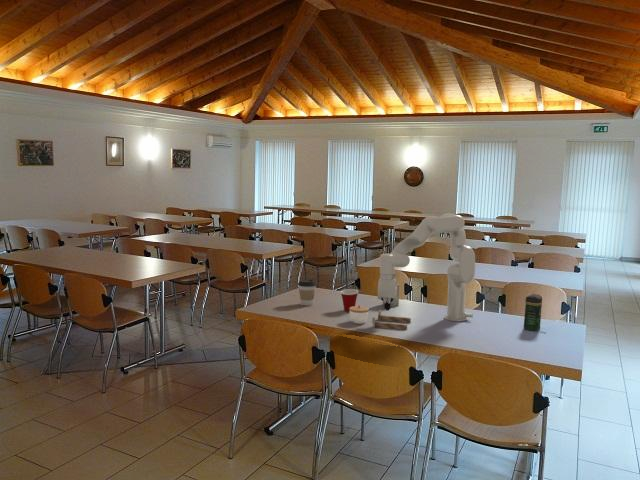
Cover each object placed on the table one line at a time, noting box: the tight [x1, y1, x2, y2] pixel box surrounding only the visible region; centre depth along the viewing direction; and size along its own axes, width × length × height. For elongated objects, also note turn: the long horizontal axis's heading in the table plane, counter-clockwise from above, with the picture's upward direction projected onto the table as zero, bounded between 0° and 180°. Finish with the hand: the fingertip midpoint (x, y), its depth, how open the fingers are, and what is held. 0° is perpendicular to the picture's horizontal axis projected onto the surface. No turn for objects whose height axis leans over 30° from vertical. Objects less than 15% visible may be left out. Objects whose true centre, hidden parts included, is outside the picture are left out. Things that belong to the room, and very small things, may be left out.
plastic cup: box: [339, 288, 359, 313], centre depth 327 cm, size 11×11×12 cm
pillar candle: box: [382, 282, 400, 308], centre depth 342 cm, size 10×10×15 cm
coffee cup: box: [297, 278, 317, 306], centre depth 341 cm, size 11×11×15 cm
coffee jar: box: [523, 293, 543, 332], centre depth 294 cm, size 10×8×19 cm
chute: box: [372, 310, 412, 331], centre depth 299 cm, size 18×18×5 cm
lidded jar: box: [349, 304, 370, 325], centre depth 303 cm, size 11×11×9 cm
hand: (387, 309), depth 301 cm, fingers closed
